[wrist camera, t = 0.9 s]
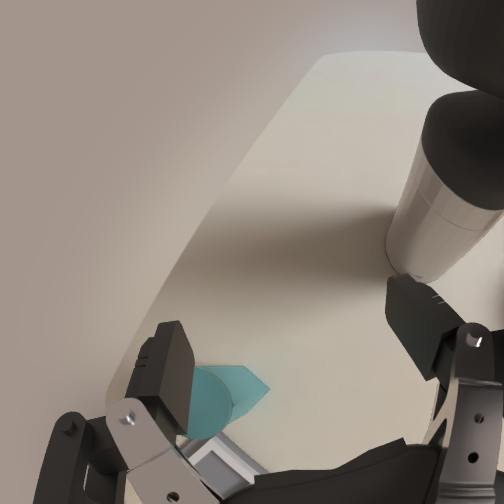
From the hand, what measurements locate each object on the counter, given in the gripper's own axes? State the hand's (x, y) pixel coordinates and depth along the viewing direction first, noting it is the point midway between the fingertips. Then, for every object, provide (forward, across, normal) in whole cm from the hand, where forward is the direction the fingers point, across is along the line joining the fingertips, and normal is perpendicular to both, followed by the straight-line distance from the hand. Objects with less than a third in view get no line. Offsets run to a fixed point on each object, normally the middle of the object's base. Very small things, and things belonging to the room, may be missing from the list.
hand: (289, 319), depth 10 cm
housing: (+3, +13, +29) cm, 31 cm away
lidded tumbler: (+12, +5, +19) cm, 23 cm away
